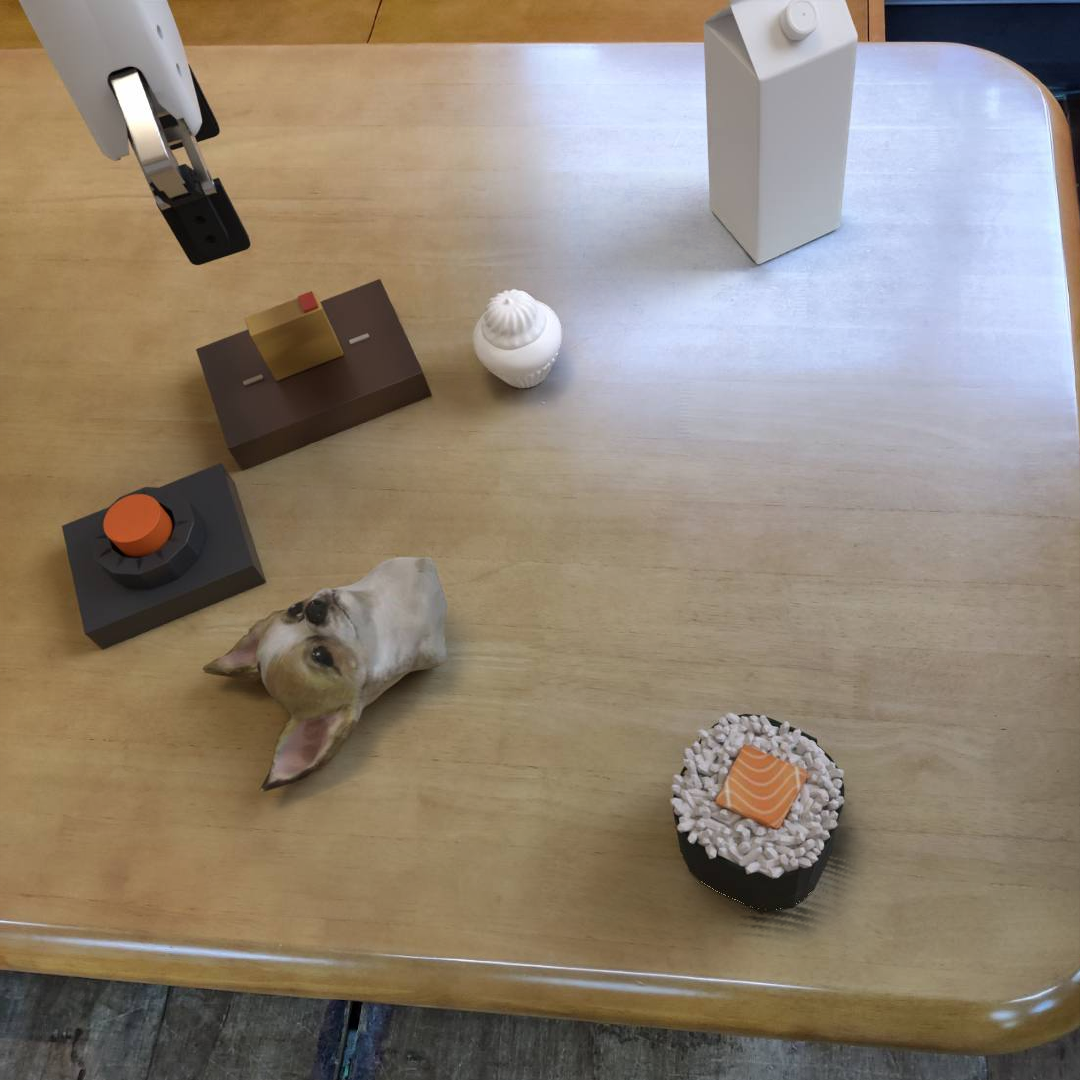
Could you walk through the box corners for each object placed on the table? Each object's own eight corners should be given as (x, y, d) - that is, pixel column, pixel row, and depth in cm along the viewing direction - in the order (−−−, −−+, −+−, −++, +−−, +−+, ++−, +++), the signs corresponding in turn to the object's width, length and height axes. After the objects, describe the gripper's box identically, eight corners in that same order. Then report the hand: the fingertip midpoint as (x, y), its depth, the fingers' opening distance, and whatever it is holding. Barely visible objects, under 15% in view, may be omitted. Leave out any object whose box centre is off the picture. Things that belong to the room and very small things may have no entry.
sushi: (718, 743, 63) (714, 683, 56) (855, 803, 61) (870, 749, 54) (654, 868, 60) (642, 821, 53) (797, 937, 57) (804, 898, 50)
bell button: (122, 566, 68) (108, 551, 67) (112, 522, 70) (98, 507, 69) (178, 543, 69) (165, 528, 67) (166, 501, 71) (153, 485, 69)
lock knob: (276, 381, 76) (248, 333, 72) (269, 364, 77) (242, 315, 73) (344, 355, 77) (321, 305, 72) (337, 338, 77) (313, 288, 73)
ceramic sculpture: (466, 611, 58) (216, 766, 56) (506, 677, 66) (287, 816, 64) (381, 479, 63) (148, 617, 61) (427, 555, 71) (222, 680, 69)
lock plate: (242, 471, 76) (226, 447, 73) (210, 372, 80) (194, 347, 78) (432, 396, 77) (422, 370, 75) (389, 303, 82) (379, 276, 80)
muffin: (524, 419, 76) (505, 349, 69) (465, 376, 78) (441, 304, 72) (587, 365, 77) (574, 292, 71) (527, 324, 80) (509, 250, 74)
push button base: (102, 650, 70) (68, 620, 66) (78, 543, 74) (46, 510, 71) (266, 582, 71) (242, 549, 68) (234, 481, 75) (209, 445, 72)
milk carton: (709, 210, 83) (700, -41, 67) (789, 174, 84) (800, -83, 68) (757, 267, 80) (760, 18, 64) (840, 229, 81) (865, -26, 65)
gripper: (-76, -221, 48) (120, 121, 63) (-61, -9, 40) (162, 327, 55) (91, -269, 49) (246, 81, 64) (141, -70, 40) (306, 279, 55)
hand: (207, 194), depth 59 cm, fingers open, 9 cm apart
